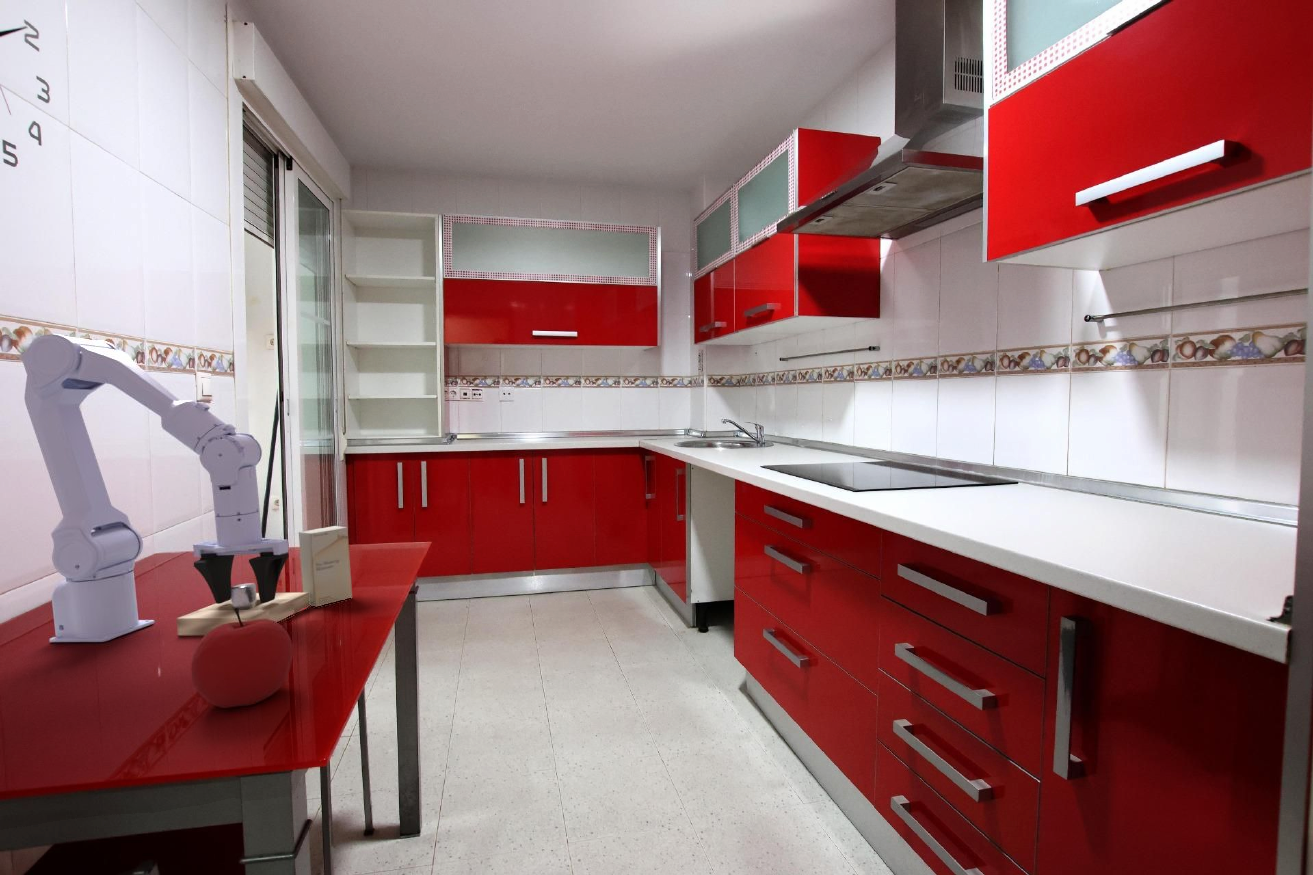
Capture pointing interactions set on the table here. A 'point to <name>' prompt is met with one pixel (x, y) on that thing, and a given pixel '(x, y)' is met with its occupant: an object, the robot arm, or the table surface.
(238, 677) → the apple
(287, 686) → the table surface
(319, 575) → the skincare box
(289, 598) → the wooden square frame
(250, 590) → the grey block
